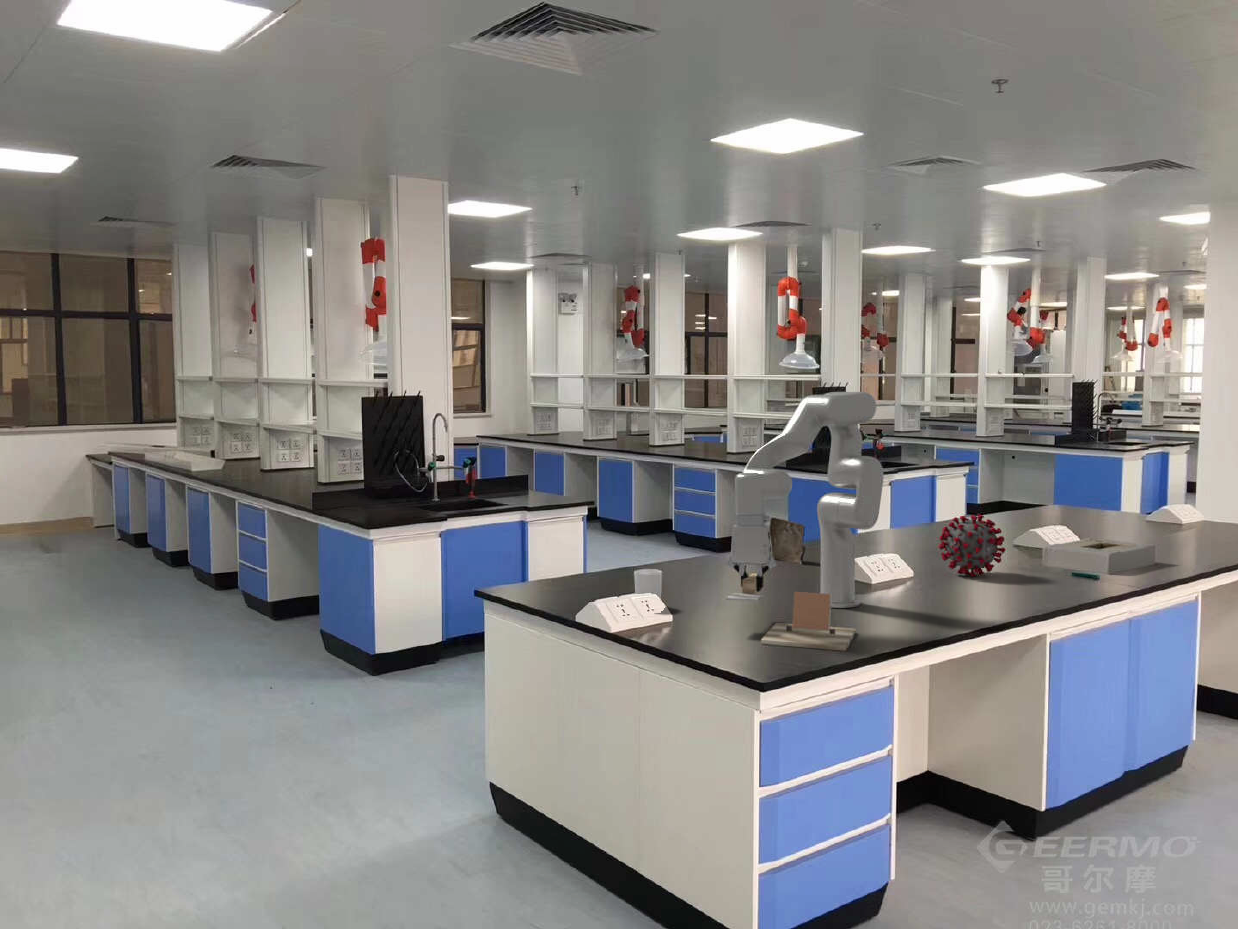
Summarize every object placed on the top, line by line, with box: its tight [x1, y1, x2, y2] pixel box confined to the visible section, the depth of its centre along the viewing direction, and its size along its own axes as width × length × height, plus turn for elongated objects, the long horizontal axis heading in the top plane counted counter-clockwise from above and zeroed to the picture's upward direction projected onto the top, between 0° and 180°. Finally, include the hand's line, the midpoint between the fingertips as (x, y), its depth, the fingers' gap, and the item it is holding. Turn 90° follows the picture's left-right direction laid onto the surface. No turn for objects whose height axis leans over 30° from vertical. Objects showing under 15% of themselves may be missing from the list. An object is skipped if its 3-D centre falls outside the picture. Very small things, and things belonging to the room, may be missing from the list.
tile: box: [791, 591, 832, 631], centre depth 239 cm, size 9×9×1 cm
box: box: [1042, 537, 1156, 575], centre depth 330 cm, size 23×8×32 cm
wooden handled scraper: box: [725, 572, 765, 602], centre depth 248 cm, size 19×8×4 cm, turn 159°
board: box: [760, 622, 857, 652], centre depth 236 cm, size 18×20×2 cm
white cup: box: [633, 568, 663, 600], centre depth 272 cm, size 8×8×10 cm
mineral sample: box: [768, 517, 806, 565], centre depth 342 cm, size 17×4×15 cm, turn 41°
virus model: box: [938, 514, 1006, 577], centre depth 313 cm, size 20×20×20 cm
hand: (752, 589), depth 250 cm, fingers closed on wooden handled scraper, 2 cm apart
